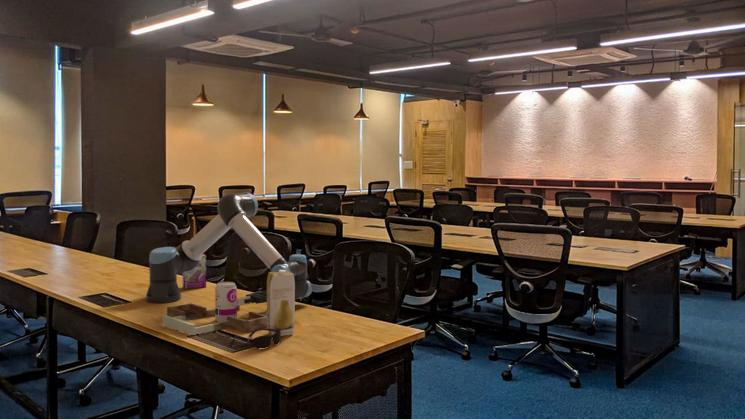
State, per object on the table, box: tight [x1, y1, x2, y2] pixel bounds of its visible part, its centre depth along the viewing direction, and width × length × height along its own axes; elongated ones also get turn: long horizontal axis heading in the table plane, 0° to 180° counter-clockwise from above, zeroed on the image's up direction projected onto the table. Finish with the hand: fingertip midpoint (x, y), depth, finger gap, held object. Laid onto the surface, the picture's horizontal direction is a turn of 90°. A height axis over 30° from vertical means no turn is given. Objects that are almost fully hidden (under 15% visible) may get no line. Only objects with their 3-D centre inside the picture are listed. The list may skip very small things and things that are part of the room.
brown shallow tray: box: [166, 302, 267, 333], centre depth 242 cm, size 27×41×4 cm, turn 49°
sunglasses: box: [231, 328, 282, 350], centre depth 211 cm, size 14×16×5 cm
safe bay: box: [161, 314, 215, 336], centre depth 229 cm, size 9×20×4 cm, turn 49°
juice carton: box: [266, 270, 296, 337], centre depth 222 cm, size 9×8×24 cm
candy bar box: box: [181, 254, 207, 290], centre depth 304 cm, size 11×5×16 cm, turn 115°
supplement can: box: [214, 281, 238, 323], centre depth 240 cm, size 8×8×15 cm
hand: (236, 302), depth 243 cm, fingers closed
